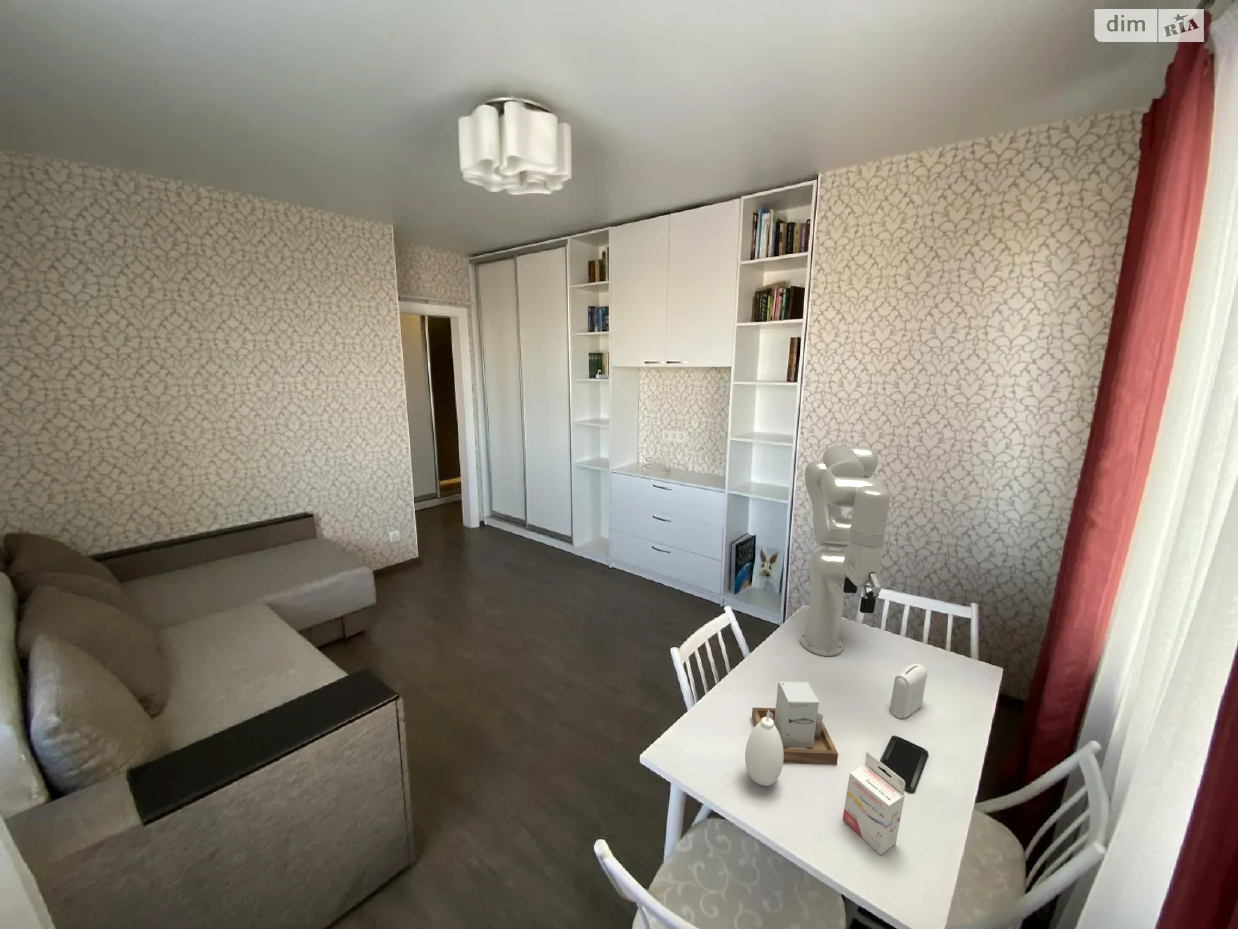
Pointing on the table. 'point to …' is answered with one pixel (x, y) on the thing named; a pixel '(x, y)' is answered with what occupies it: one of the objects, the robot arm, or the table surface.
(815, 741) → the caddy
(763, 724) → the air blower bulb
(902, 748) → the phone
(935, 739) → the table surface
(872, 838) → the ink cartridge box
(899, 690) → the white rounded block
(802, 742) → the supplement box
